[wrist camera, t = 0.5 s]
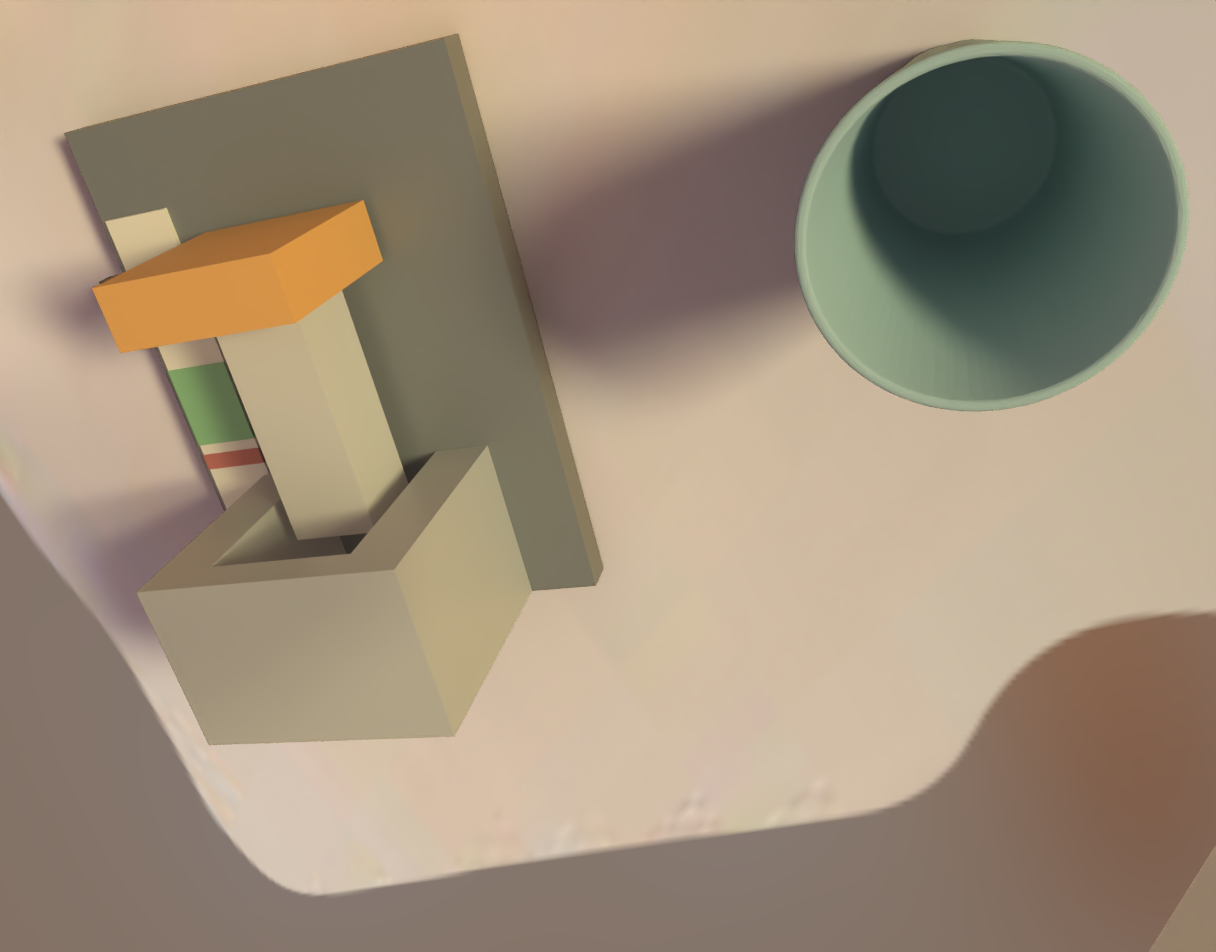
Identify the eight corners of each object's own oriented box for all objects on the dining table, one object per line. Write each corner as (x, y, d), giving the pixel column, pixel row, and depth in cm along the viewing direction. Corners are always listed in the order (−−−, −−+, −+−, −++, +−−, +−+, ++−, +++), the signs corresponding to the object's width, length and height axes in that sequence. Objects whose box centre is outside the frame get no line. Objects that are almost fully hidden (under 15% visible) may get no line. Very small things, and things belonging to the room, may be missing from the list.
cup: (979, 323, 34) (1005, 476, 25) (773, 180, 34) (723, 284, 25) (1168, 106, 30) (1279, 195, 21) (938, -59, 30) (952, -39, 21)
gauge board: (86, 126, 38) (-135, 191, 30) (458, 33, 34) (316, 80, 26) (281, 595, 46) (146, 747, 38) (603, 568, 41) (530, 733, 33)
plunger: (108, 252, 38) (-17, 309, 33) (363, 200, 35) (270, 253, 30) (216, 505, 42) (120, 591, 37) (453, 479, 39) (385, 568, 34)
